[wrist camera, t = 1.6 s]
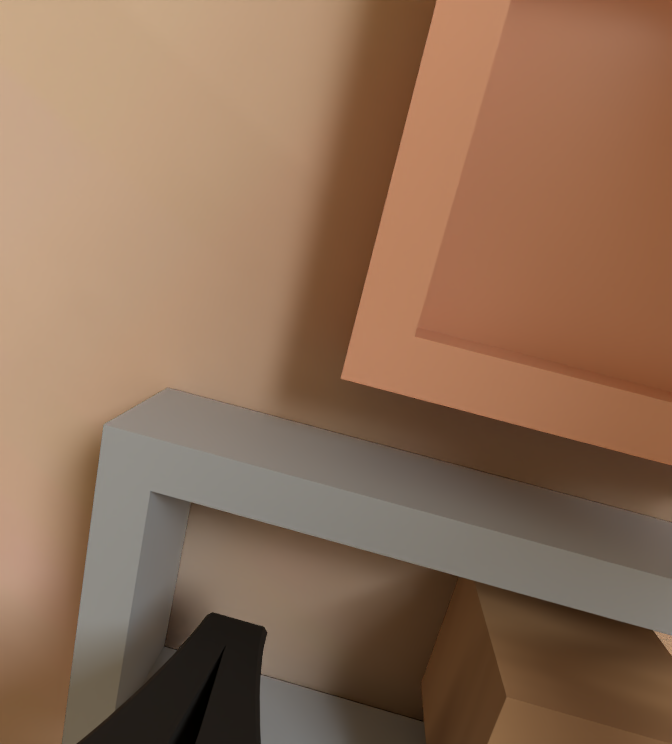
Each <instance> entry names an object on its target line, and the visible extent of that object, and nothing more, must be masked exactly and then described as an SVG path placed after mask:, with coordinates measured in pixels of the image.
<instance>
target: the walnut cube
mask: <svg viewBox="0 0 672 744" xmlns="http://www.w3.org/2000/svg"><path fill="white" fill-rule="evenodd" d="M421 691H422V703H423V715H424V726H425V738H426V744H672V656H671V654H670V653H669V652H668V650H667V649H666V648H665V646H664V645H663V643H662V642H661V641H660V639H659V638H658V637H657V635H656V634H655V633H654V631H653V630H650V629H647V628H643V627H639V626H636V625H632V624H629V623H625V622H621V621H618V620H614V619H611V618H607V617H603V616H600V615H596V614H593V613H589V612H585V611H582V610H578V609H575V608H571V607H567V606H564V605H560V604H557V603H553V602H549V601H546V600H542V599H538V598H535V597H531V596H528V595H524V594H520V593H517V592H513V591H510V590H506V589H502V588H499V587H495V586H492V585H488V584H484V583H481V582H477V581H474V580H470V579H466V578H463V577H459V578H458V580H457V583H456V586H455V589H454V592H453V595H452V597H451V600H450V603H449V606H448V609H447V611H446V614H445V617H444V620H443V623H442V626H441V628H440V631H439V634H438V637H437V640H436V643H435V645H434V648H433V651H432V654H431V657H430V659H429V662H428V665H427V668H426V671H425V674H424V676H423V679H422V682H421Z"/></svg>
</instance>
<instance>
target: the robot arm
mask: <svg viewBox="0 0 672 744" xmlns="http://www.w3.org/2000/svg"><path fill="white" fill-rule="evenodd" d="M266 636H267V631H266V630H265V628H264V627H263V626H259V625H255V624H252V623H248V622H245V621H241V620H238V619H234V618H231V617H227V616H224V615H220V614H217V613H213V612H212V613H210V614H208V615H207V616H206V617H205V618H204V620H203V621H202V622H201V624H200V625H199V626H198V627H197V628H196V630H195V631H194V632H193V633H192V634H191V636H190V637H189V638H188V639H187V640H186V641H185V642H184V644H183V645H182V646H181V647H180V648H179V649H178V650H177V651H176V652H175V653H174V654H173V655H172V657H171V658H170V659H169V660H168V661H167V662H166V663H165V664H164V665H163V666H162V667H161V668H160V669H159V670H158V671H157V672H156V673H155V674H154V675H153V676H152V677H151V678H150V679H149V680H148V681H147V682H146V683H145V684H144V685H143V686H142V687H141V688H140V689H138V690H137V691H136V692H135V693H134V694H133V695H132V696H131V697H130V698H129V699H128V700H126V701H125V702H124V703H123V704H122V705H121V706H120V707H119V708H118V709H117V710H115V711H114V712H113V713H112V714H111V715H110V716H109V717H108V718H107V719H105V720H104V721H103V722H102V723H101V724H100V725H98V726H97V727H96V728H95V729H94V730H92V731H91V732H90V733H89V734H88V735H86V736H85V737H84V738H83V739H82V740H80V741H79V742H78V743H77V744H261V733H260V679H261V664H262V655H263V649H264V644H265V640H266Z"/></svg>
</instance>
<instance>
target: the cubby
mask: <svg viewBox="0 0 672 744" xmlns="http://www.w3.org/2000/svg"><path fill="white" fill-rule="evenodd" d="M191 502H192V503H196V504H200V505H203V506H207V507H210V508H214V509H218V510H221V511H225V512H228V513H232V514H236V515H239V516H243V517H246V518H250V519H254V520H257V521H261V522H264V523H268V524H272V525H275V526H279V527H282V528H286V529H290V530H293V531H297V532H300V533H304V534H308V535H311V536H315V537H319V538H322V539H326V540H329V541H333V542H337V543H340V544H344V545H347V546H351V547H355V548H358V549H362V550H365V551H369V552H373V553H376V554H380V555H383V556H387V557H391V558H394V559H398V560H401V561H405V562H409V563H412V564H416V565H419V566H423V567H427V568H430V569H434V570H438V571H441V572H445V573H448V574H452V575H456V576H459V577H463V578H466V579H470V580H474V581H477V582H481V583H484V584H488V585H492V586H495V587H499V588H502V589H506V590H510V591H513V592H517V593H520V594H524V595H528V596H531V597H535V598H538V599H542V600H546V601H549V602H553V603H557V604H560V605H564V606H567V607H571V608H575V609H578V610H582V611H585V612H589V613H593V614H596V615H600V616H603V617H607V618H611V619H614V620H618V621H621V622H625V623H629V624H632V625H636V626H639V627H643V628H647V629H650V630H654V631H657V632H661V633H665V634H668V635H672V522H668V521H665V520H661V519H657V518H653V517H650V516H646V515H642V514H638V513H635V512H631V511H627V510H623V509H620V508H616V507H612V506H608V505H605V504H601V503H597V502H593V501H590V500H586V499H582V498H579V497H575V496H571V495H567V494H564V493H560V492H556V491H552V490H549V489H545V488H541V487H537V486H534V485H530V484H526V483H522V482H519V481H515V480H511V479H507V478H504V477H500V476H496V475H493V474H489V473H485V472H481V471H478V470H474V469H470V468H466V467H463V466H459V465H455V464H451V463H448V462H444V461H440V460H436V459H433V458H429V457H425V456H421V455H418V454H414V453H410V452H407V451H403V450H399V449H395V448H392V447H388V446H384V445H380V444H377V443H373V442H369V441H365V440H362V439H358V438H354V437H350V436H347V435H343V434H339V433H335V432H332V431H328V430H324V429H321V428H317V427H313V426H309V425H306V424H302V423H298V422H294V421H291V420H287V419H283V418H279V417H276V416H272V415H268V414H264V413H261V412H257V411H253V410H249V409H246V408H242V407H238V406H235V405H231V404H227V403H223V402H220V401H216V400H212V399H208V398H205V397H201V396H197V395H193V394H190V393H186V392H182V391H178V390H175V389H171V388H166V389H164V390H163V391H161V392H159V393H157V394H156V395H154V396H152V397H150V398H149V399H147V400H145V401H143V402H142V403H140V404H138V405H136V406H135V407H133V408H131V409H130V410H128V411H126V412H124V413H123V414H121V415H119V416H117V417H116V418H114V419H112V420H110V421H109V422H107V423H105V424H104V425H103V433H102V440H101V448H100V456H99V463H98V471H97V479H96V486H95V494H94V501H93V509H92V517H91V524H90V532H89V540H88V547H87V555H86V562H85V570H84V578H83V585H82V593H81V601H80V608H79V616H78V624H77V631H76V639H75V646H74V654H73V662H72V669H71V677H70V685H69V692H68V700H67V707H66V715H65V723H64V730H63V738H62V744H77V743H78V742H79V741H80V740H82V739H83V738H84V737H85V736H86V735H88V734H89V733H90V732H91V731H92V730H94V729H95V728H96V727H97V726H98V725H100V724H101V723H102V722H103V721H104V720H105V719H107V718H108V717H109V716H110V715H111V714H112V713H113V712H114V711H115V710H117V709H118V708H119V707H120V706H121V705H122V704H123V703H124V702H125V701H126V700H128V699H129V698H130V697H131V696H132V695H133V694H134V693H135V692H136V691H137V690H138V689H140V688H141V687H142V686H143V685H144V684H145V683H146V682H147V681H148V680H149V679H150V678H151V677H152V676H153V675H154V674H155V673H156V672H157V671H158V670H159V669H160V668H161V667H162V666H163V665H164V664H165V663H166V662H167V661H168V660H169V659H170V658H171V657H172V655H173V654H174V653H175V652H176V651H177V650H175V649H171V648H168V647H164V645H165V640H166V634H167V629H168V624H169V618H170V613H171V608H172V602H173V597H174V592H175V586H176V581H177V576H178V570H179V565H180V559H181V554H182V549H183V543H184V538H185V533H186V527H187V522H188V517H189V511H190V506H191ZM260 733H261V744H426V738H425V726H424V722H422V721H418V720H415V719H412V718H408V717H405V716H401V715H398V714H394V713H391V712H388V711H384V710H381V709H377V708H374V707H370V706H367V705H363V704H360V703H357V702H353V701H350V700H346V699H343V698H339V697H336V696H333V695H329V694H326V693H322V692H319V691H315V690H312V689H309V688H305V687H302V686H298V685H295V684H291V683H288V682H284V681H281V680H278V679H274V678H271V677H267V676H264V675H261V679H260Z"/></svg>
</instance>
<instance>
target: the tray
mask: <svg viewBox="0 0 672 744" xmlns="http://www.w3.org/2000/svg"><path fill="white" fill-rule="evenodd" d="M341 379H344V380H348V381H351V382H355V383H359V384H363V385H367V386H371V387H374V388H378V389H382V390H386V391H390V392H393V393H397V394H401V395H405V396H409V397H412V398H416V399H420V400H424V401H428V402H431V403H435V404H439V405H443V406H447V407H451V408H454V409H458V410H462V411H466V412H470V413H473V414H477V415H481V416H485V417H489V418H492V419H496V420H500V421H504V422H508V423H511V424H515V425H519V426H523V427H527V428H531V429H534V430H538V431H542V432H546V433H550V434H553V435H557V436H561V437H565V438H569V439H572V440H576V441H580V442H584V443H588V444H591V445H595V446H599V447H603V448H607V449H611V450H614V451H618V452H622V453H626V454H630V455H633V456H637V457H641V458H645V459H649V460H652V461H656V462H660V463H664V464H668V465H671V466H672V0H437V1H436V5H435V9H434V13H433V17H432V21H431V25H430V29H429V33H428V37H427V40H426V44H425V48H424V52H423V56H422V60H421V64H420V68H419V72H418V76H417V80H416V84H415V88H414V92H413V96H412V99H411V103H410V107H409V111H408V115H407V119H406V123H405V127H404V131H403V135H402V139H401V143H400V147H399V151H398V155H397V158H396V162H395V166H394V170H393V174H392V178H391V182H390V186H389V190H388V194H387V198H386V202H385V206H384V210H383V214H382V217H381V221H380V225H379V229H378V233H377V237H376V241H375V245H374V249H373V253H372V257H371V261H370V265H369V269H368V272H367V276H366V280H365V284H364V288H363V292H362V296H361V300H360V304H359V308H358V312H357V316H356V320H355V324H354V328H353V331H352V335H351V339H350V343H349V347H348V351H347V355H346V359H345V363H344V367H343V371H342V375H341Z"/></svg>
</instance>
